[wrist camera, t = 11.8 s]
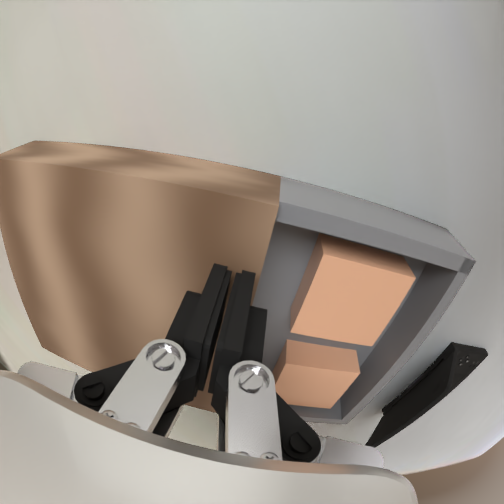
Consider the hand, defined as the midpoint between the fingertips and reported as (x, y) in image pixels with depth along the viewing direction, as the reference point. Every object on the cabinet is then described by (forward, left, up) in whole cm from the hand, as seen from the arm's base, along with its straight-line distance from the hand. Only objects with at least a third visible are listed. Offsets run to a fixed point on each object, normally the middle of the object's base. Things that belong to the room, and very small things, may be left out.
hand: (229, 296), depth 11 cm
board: (+7, +4, -5) cm, 9 cm away
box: (-6, +4, -5) cm, 9 cm away
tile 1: (-6, +8, -2) cm, 11 cm away
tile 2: (-6, +1, -2) cm, 6 cm away
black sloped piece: (-19, +10, -5) cm, 22 cm away
